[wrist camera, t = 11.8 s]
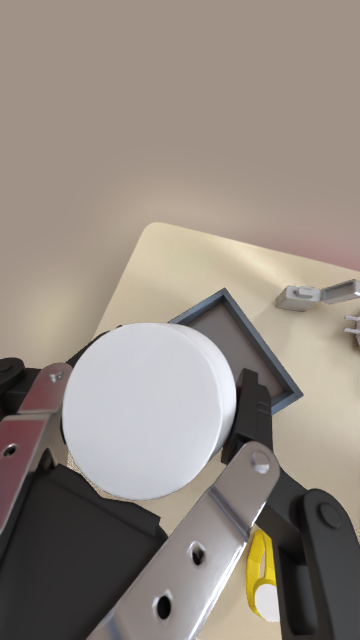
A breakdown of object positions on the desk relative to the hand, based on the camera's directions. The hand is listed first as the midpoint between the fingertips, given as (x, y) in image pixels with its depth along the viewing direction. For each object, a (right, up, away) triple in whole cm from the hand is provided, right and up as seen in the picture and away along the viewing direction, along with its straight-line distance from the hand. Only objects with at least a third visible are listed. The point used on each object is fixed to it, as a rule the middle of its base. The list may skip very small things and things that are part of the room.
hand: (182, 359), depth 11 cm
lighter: (+18, +4, +20) cm, 27 cm away
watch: (+9, -25, +13) cm, 30 cm away
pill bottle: (0, -3, +5) cm, 6 cm away
